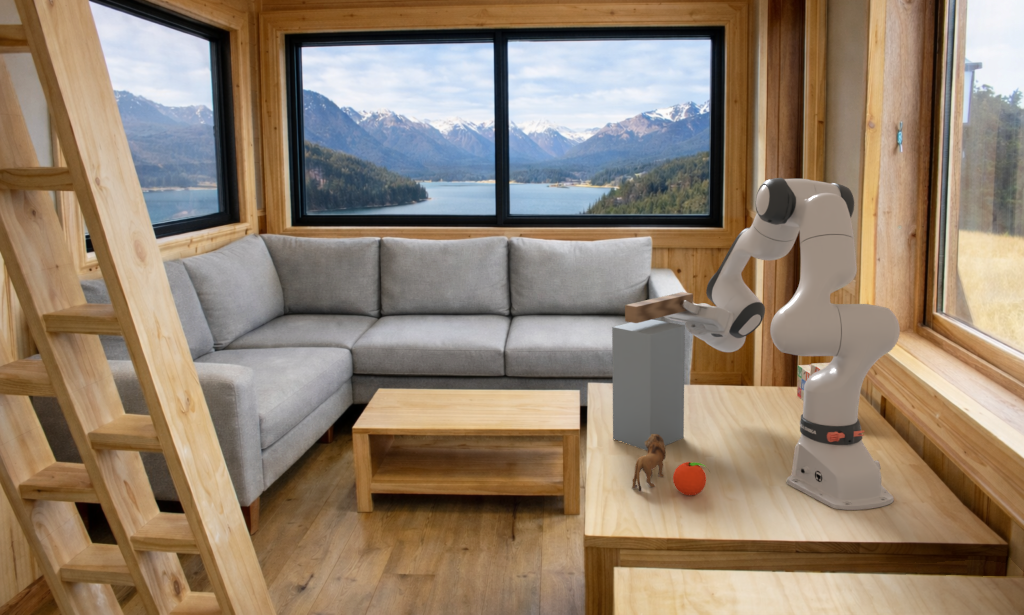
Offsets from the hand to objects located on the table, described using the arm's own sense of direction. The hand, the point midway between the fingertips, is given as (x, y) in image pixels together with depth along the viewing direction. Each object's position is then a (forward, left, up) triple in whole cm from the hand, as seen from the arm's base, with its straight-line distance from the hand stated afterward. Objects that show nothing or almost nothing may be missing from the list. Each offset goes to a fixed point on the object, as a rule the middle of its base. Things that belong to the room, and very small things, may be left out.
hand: (674, 301), depth 212 cm
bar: (-3, +5, -2) cm, 6 cm away
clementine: (-39, +12, -34) cm, 53 cm away
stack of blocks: (+5, -45, -34) cm, 57 cm away
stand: (-5, +9, -34) cm, 35 cm away
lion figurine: (-29, +18, -34) cm, 48 cm away
